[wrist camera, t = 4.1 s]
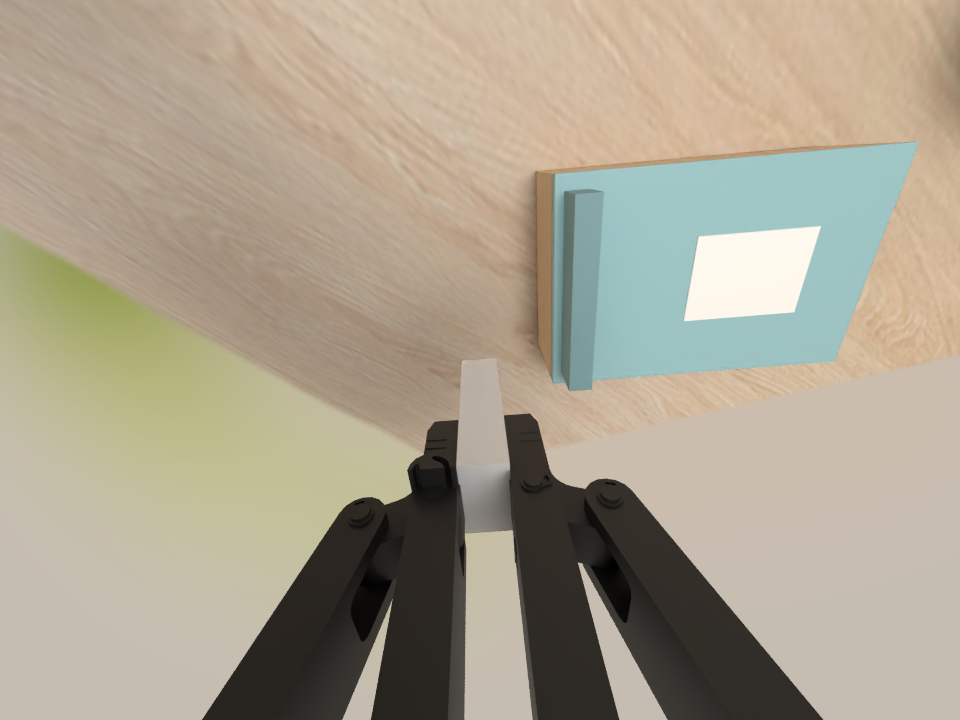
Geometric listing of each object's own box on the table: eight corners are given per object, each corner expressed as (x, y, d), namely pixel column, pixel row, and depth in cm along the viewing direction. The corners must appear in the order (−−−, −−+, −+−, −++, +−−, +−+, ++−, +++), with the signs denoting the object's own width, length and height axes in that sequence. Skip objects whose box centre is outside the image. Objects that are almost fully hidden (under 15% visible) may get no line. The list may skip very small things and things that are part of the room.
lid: (551, 378, 31) (560, 403, 28) (552, 173, 24) (564, 175, 21) (826, 356, 31) (867, 379, 28) (906, 142, 24) (973, 139, 21)
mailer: (537, 342, 38) (550, 376, 31) (535, 171, 31) (551, 173, 25) (765, 323, 37) (823, 354, 31) (815, 146, 30) (901, 142, 24)
